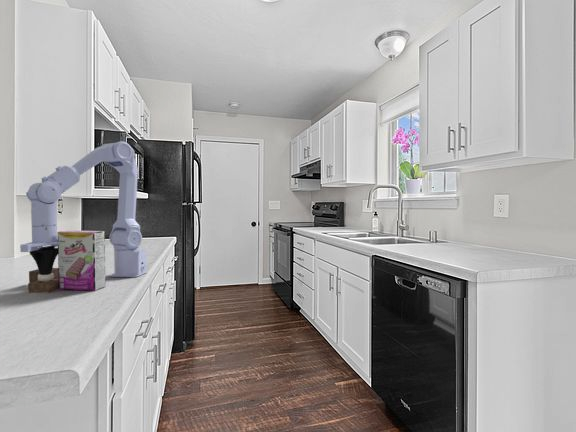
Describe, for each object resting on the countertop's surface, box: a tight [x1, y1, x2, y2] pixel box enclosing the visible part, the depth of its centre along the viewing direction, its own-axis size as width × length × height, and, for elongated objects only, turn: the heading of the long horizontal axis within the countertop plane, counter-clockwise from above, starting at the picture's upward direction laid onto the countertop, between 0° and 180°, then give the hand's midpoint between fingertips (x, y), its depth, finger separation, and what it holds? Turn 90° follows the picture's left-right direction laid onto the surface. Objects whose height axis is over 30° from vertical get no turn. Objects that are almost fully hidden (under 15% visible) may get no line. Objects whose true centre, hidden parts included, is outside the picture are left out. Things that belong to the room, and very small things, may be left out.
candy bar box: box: [57, 229, 106, 292], centre depth 97 cm, size 11×5×16 cm, turn 84°
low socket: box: [27, 279, 59, 294], centre depth 95 cm, size 6×6×2 cm
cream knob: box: [38, 273, 54, 282], centre depth 95 cm, size 4×4×4 cm
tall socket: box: [28, 267, 59, 283], centre depth 102 cm, size 6×6×4 cm
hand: (45, 274), depth 95 cm, fingers closed, pressing on cream knob
